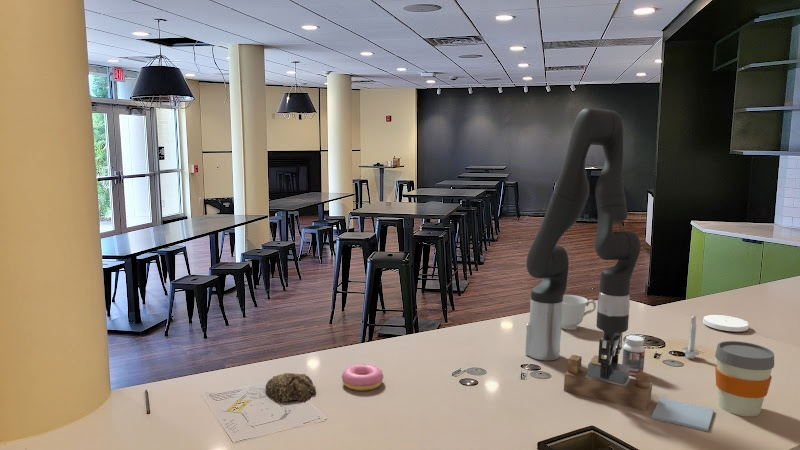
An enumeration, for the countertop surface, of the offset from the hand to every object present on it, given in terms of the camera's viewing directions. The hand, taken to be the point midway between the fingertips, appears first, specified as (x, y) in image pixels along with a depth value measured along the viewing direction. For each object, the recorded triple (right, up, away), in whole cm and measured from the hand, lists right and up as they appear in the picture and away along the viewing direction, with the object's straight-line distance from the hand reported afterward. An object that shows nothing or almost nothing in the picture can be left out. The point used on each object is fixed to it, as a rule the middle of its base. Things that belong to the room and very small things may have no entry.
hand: (608, 372), depth 157 cm
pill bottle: (+12, -4, +17) cm, 21 cm away
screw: (+34, -2, +29) cm, 45 cm away
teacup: (+6, +2, +56) cm, 56 cm away
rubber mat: (+14, -8, -9) cm, 19 cm away
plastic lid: (+61, +1, +59) cm, 85 cm away
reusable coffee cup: (+30, -8, -5) cm, 32 cm away
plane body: (0, -6, +1) cm, 6 cm away
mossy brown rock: (-80, -5, 0) cm, 80 cm away
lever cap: (0, -1, 0) cm, 1 cm away
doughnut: (-63, -4, +5) cm, 63 cm away
